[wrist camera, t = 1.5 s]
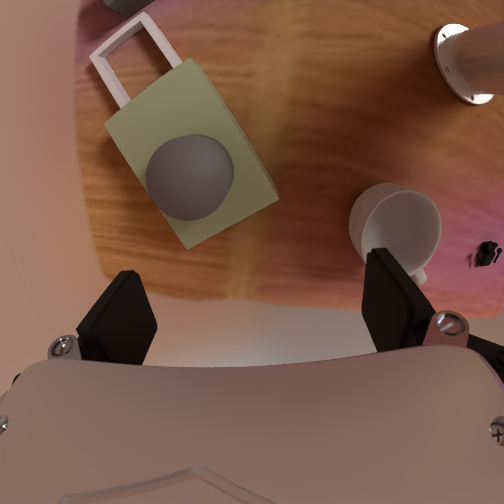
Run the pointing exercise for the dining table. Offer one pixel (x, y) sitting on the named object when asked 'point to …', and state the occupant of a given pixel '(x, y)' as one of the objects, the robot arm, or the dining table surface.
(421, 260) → the teacup
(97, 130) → the dining table surface
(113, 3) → the grey block
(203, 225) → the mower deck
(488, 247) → the wireless earbuds
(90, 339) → the robot arm
